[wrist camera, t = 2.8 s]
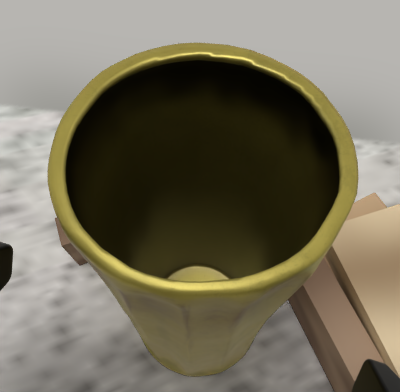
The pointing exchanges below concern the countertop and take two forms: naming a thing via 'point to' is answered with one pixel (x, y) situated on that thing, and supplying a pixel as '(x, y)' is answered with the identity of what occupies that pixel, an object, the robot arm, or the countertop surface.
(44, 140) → the countertop surface
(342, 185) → the vase
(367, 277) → the offcut rack
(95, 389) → the countertop surface
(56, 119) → the countertop surface
